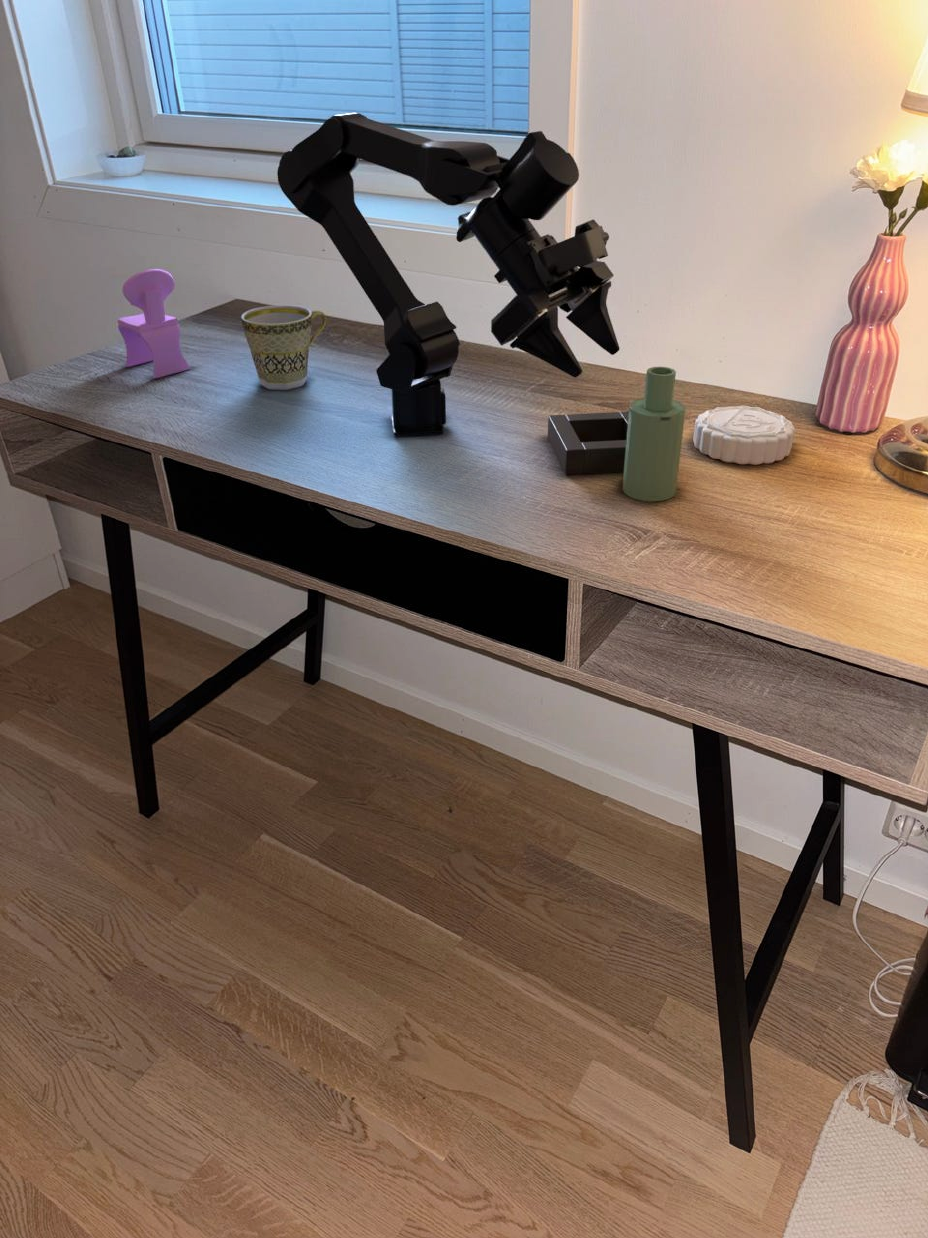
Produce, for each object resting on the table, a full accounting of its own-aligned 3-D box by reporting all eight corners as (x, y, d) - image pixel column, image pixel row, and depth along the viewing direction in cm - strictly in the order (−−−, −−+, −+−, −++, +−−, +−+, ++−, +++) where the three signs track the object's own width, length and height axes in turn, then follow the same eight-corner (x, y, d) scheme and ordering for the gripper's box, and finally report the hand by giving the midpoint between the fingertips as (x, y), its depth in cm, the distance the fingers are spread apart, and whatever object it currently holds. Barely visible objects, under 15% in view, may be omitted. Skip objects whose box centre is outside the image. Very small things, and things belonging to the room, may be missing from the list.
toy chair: (166, 355, 156) (148, 257, 148) (196, 367, 150) (180, 266, 142) (118, 367, 151) (98, 266, 143) (148, 380, 146) (129, 276, 137)
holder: (565, 475, 116) (566, 450, 114) (547, 438, 125) (548, 415, 123) (658, 470, 117) (661, 445, 115) (634, 434, 126) (636, 410, 125)
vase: (630, 503, 109) (641, 381, 102) (617, 480, 114) (626, 363, 107) (682, 500, 110) (697, 378, 102) (666, 477, 115) (680, 360, 107)
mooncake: (774, 473, 116) (779, 444, 114) (678, 452, 121) (681, 425, 119) (802, 440, 124) (807, 413, 122) (712, 422, 130) (715, 396, 128)
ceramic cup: (270, 399, 138) (262, 328, 133) (237, 381, 145) (228, 313, 140) (347, 379, 145) (342, 311, 140) (312, 363, 152) (306, 297, 146)
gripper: (519, 211, 95) (612, 342, 96) (604, 184, 108) (685, 299, 109) (452, 283, 103) (539, 403, 104) (539, 249, 116) (615, 356, 117)
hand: (598, 363), depth 108 cm, fingers open, 9 cm apart
